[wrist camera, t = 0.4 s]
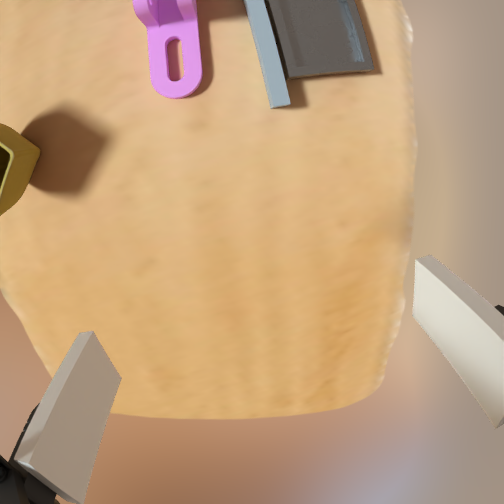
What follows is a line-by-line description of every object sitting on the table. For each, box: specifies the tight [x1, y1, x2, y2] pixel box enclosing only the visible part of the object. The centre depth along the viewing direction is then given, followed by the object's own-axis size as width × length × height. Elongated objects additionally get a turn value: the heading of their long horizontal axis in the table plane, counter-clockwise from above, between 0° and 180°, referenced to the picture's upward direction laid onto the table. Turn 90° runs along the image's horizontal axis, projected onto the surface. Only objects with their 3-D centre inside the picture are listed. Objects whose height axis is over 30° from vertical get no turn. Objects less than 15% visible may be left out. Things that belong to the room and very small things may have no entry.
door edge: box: [243, 0, 291, 109], centre depth 26 cm, size 22×2×2 cm, turn 12°
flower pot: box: [0, 124, 40, 216], centre depth 26 cm, size 9×9×9 cm
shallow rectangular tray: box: [265, 0, 374, 80], centre depth 26 cm, size 16×10×2 cm, turn 12°
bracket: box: [133, 0, 203, 99], centre depth 24 cm, size 13×6×7 cm, turn 6°
